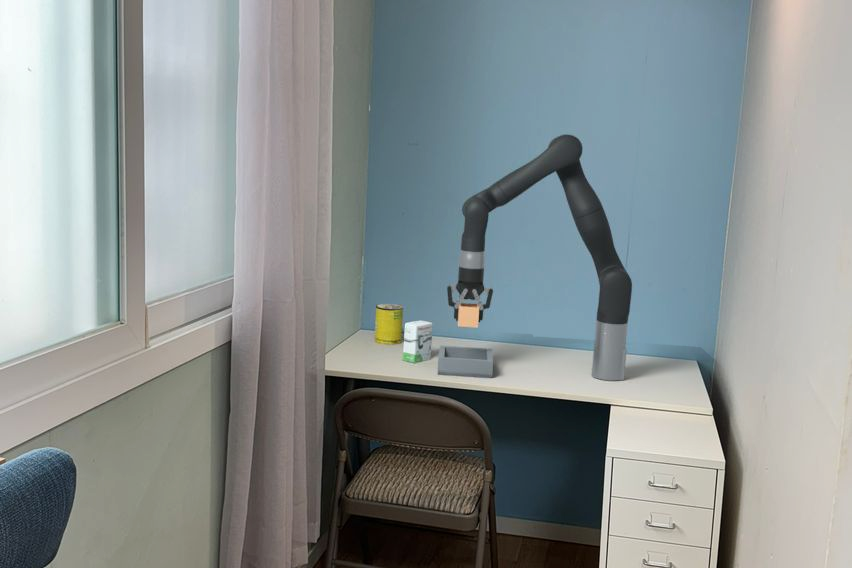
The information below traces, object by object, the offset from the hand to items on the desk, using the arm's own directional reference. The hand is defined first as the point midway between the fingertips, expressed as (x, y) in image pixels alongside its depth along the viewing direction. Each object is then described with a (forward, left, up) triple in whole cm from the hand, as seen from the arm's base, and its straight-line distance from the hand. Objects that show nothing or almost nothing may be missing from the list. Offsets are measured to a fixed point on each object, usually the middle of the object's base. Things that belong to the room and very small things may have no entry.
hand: (467, 320), depth 268 cm
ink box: (+15, -8, -15) cm, 23 cm away
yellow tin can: (+26, -30, -15) cm, 42 cm away
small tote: (0, 0, -1) cm, 1 cm away
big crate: (0, 0, -15) cm, 15 cm away
